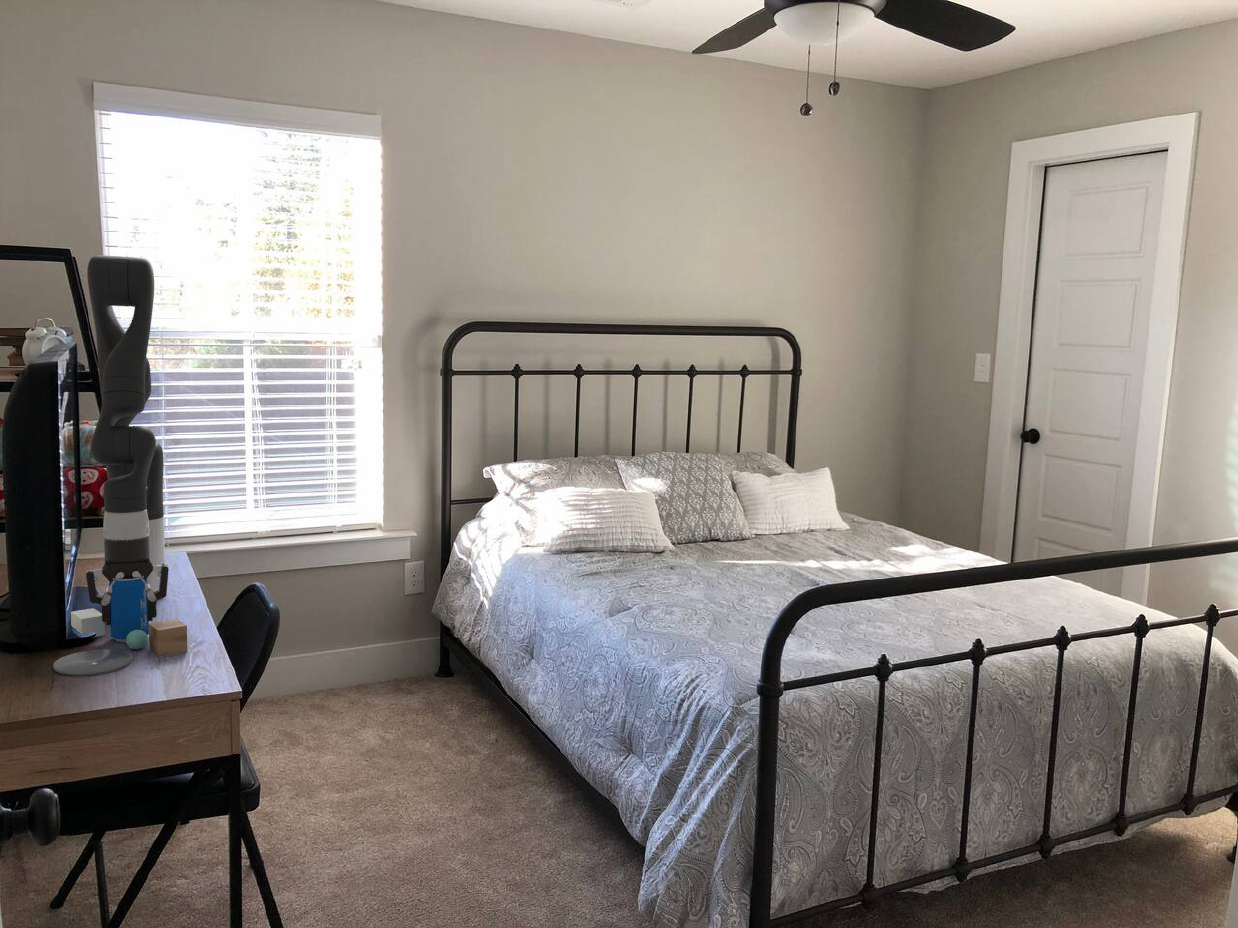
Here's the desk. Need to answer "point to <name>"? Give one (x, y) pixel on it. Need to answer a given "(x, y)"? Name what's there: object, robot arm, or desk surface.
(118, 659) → the coaster
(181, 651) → the walnut cube
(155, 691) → the desk surface
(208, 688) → the desk surface
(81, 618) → the white block
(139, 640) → the teal ball
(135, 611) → the beverage can
